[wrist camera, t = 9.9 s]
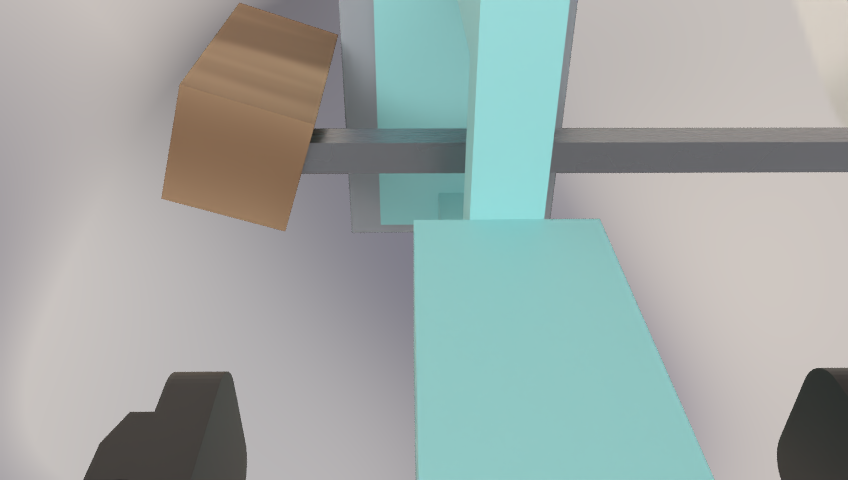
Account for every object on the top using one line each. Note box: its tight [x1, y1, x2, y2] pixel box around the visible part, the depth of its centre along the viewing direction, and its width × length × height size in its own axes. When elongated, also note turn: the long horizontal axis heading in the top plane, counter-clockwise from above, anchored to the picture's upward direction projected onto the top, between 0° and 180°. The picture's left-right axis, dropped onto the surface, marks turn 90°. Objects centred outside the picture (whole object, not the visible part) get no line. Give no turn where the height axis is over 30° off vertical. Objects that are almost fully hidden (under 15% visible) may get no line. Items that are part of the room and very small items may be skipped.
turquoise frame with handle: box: [373, 0, 714, 480], centre depth 14 cm, size 5×10×18 cm, turn 0°
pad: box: [339, 0, 578, 233], centre depth 22 cm, size 7×12×1 cm, turn 179°
